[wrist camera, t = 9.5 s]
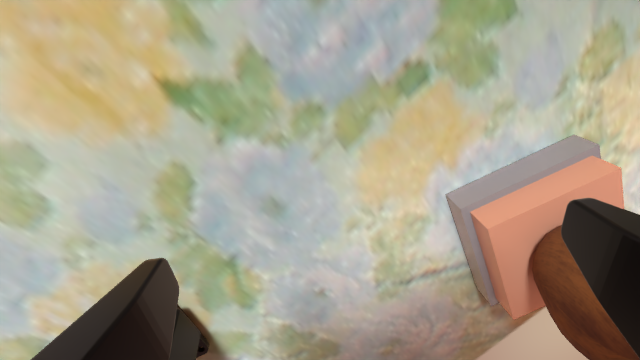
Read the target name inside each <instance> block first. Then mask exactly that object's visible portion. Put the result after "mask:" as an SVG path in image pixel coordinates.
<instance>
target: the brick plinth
mask: <svg viewBox="0 0 640 360" xmlns="http://www.w3.org/2000/svg"><path fill="white" fill-rule="evenodd" d="M446 197H447V200H448V203H449V206H450V209H451V212H452V215H453V218H454V221H455V224H456V227H457V230H458V233H459V236H460V239H461V242H462V245H463V248H464V251H465V254H466V257H467V260H468V263H469V266H470V269H471V272H472V275H473V278H474V281H475V284H476V287H477V289H478V290H479V291H480V292H481V294H482V295H483V296H484V298H485V299H486V300H487V301H488V303H489V304H490V305H491V306H493V305H495V304H498V303H500V304H501V305H502V306H503V307H504V309H505V310H506V311H507V312H508V314H509V315H510V316H511V317H512V318H513V320H515V319H517V318H519V317H521V316H524V315H526V314H528V313H530V312H533V311H535V310H537V309H540V308H542V307H544V306H546V305H545V303H544V301H543V299H542V297H541V295H540V292H539V290H538V288H537V286H536V283H535V281H534V278H533V272H532V266H533V259H534V255H535V252H536V250H537V248H538V246H539V244H540V242H541V241H542V240H543V238H544V237H545V236H546V235H547V234H548V233H549V232H550V231H552V230H553V229H555V228H557V227H558V226H560V225H562V223H563V219H564V215H565V211H566V208H567V205H568V203H569V202H570V201H572V200H575V199H582V198H594V199H597V200H600V201H602V202H605V203H608V204H611V205H613V206H616V207H619V208H622V209H624V200H623V187H622V173H621V168H620V167H618V166H615V165H613V164H611V163H609V162H606V161H604V160H602V159H601V156H600V146H599V144H596V143H594V142H591V141H589V140H586V139H584V138H581V137H579V136H576V135H572V136H570V137H568V138H566V139H563V140H561V141H559V142H557V143H555V144H553V145H551V146H548V147H546V148H544V149H542V150H540V151H538V152H536V153H533V154H531V155H529V156H527V157H525V158H523V159H521V160H518V161H516V162H514V163H512V164H510V165H508V166H505V167H503V168H501V169H499V170H497V171H495V172H493V173H490V174H488V175H486V176H484V177H482V178H480V179H478V180H475V181H473V182H471V183H469V184H467V185H465V186H463V187H460V188H458V189H456V190H454V191H452V192H450V193H448V194H446Z"/></svg>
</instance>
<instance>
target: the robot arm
mask: <svg viewBox="0 0 640 360" xmlns="http://www.w3.org/2000/svg"><path fill="white" fill-rule="evenodd" d="M561 236H562V239H563V241H564V243H565V245H566V246H567V248H568V250H569V252H570V253H571V255H572V257H573V259H574V260H575V262H576V264H577V266H578V267H579V269H580V271H581V273H582V274H583V276H584V278H585V280H586V281H587V283H588V285H589V286H590V288H591V290H592V292H593V293H594V295H595V296H596V298H597V300H598V301H599V303H600V304H601V306H602V307H603V309H604V310H605V311H606V313H607V314H608V316H609V317H610V318H611V320H612V321H613V323H614V324H615V325H616V327H617V328H618V330H619V331H620V332H621V334H622V335H623V337H624V338H625V339H626V341H627V342H628V343H629V345H630V346H631V348H632V349H633V350H634V352H635V353H636V355H637V356H638V357H639V359H640V215H638V214H635V213H633V212H630V211H627V210H624V209H622V208H619V207H616V206H613V205H611V204H608V203H605V202H602V201H600V200H597V199H594V198H582V199H575V200H572V201H570V202H569V203H568V205H567V208H566V211H565V215H564V219H563V223H562V226H561ZM178 296H179V285H178V282H177V280H176V278H175V276H174V274H173V271H172V269H171V267H170V265H169V263H168V261H167V260H166V259H164V258H156V259H149V260H146V261H144V262H143V263H142V264H140V265H139V266H138V267H137V268H136V269H135V270H134V271H132V272H131V273H130V274H129V275H128V276H127V277H126V278H124V279H123V280H122V281H121V282H120V283H119V284H117V285H116V286H115V287H114V288H113V289H112V290H111V291H109V292H108V293H107V294H106V295H105V296H104V297H102V298H101V299H100V300H99V301H98V302H97V303H96V304H94V305H93V306H92V307H91V308H90V309H89V310H88V311H86V312H85V313H84V314H83V315H82V316H81V317H79V318H78V319H77V320H76V321H75V322H74V323H73V324H71V325H70V326H69V327H68V328H67V329H66V330H64V331H63V332H62V333H61V334H60V335H59V336H58V337H56V338H55V339H54V340H53V341H52V342H51V343H49V344H48V345H47V346H46V347H45V348H44V349H43V350H41V351H40V352H39V353H38V354H37V355H36V356H35V357H33V358H32V359H31V360H196V358H197V357H199V356H201V355H203V354H205V353H207V352H208V349H209V343H208V341H207V340H206V339H205V338H204V337H203V336H202V335H201V332H200V331H199V330H198V328H197V327H196V326H195V325H194V324H193V323H192V322H191V320H190V319H189V318H188V317H187V316H186V315H185V313H184V312H183V311H182V310H181V309H179V308H178V307H177V303H178ZM201 347H202V348H201Z"/></svg>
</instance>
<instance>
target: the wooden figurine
mask: <svg viewBox="0 0 640 360" xmlns="http://www.w3.org/2000/svg"><path fill="white" fill-rule="evenodd" d="M561 226H562V225H560V226H558V227H557V228H555V229H553V230H552V231H550V232H549V233H548V234H547V235H546V236H545V237H544V238H543V240H542V241H541V242H540V244H539V246H538V248H537V250H536V252H535V255H534V259H533V266H532V272H533V278H534V281H535V283H536V286H537V288H538V290H539V292H540V295H541V297H542V299H543V301H544V303H545V305H546V307H547V309H548V311H549V313H550V315H551V317H552V318H553V320H554V322H555V323H556V325H557V327H558V328H559V330H560V332H561V333H562V334H563V335H564V336H565V337H566V339H567V340H568V341H569V342H570V343H571V344H572V345H573V346H574V347H575V348H576V349H577V350H578V351H579V352H581V353H582V354H583V355H584V356H585V357H586V358H588V359H589V360H640V359H639V357H638V356H637V355H636V353H635V352H634V350H633V349H632V348H631V346H630V345H629V343H628V342H627V341H626V339H625V338H624V337H623V335H622V334H621V332H620V331H619V330H618V328H617V327H616V325H615V324H614V323H613V321H612V320H611V318H610V317H609V316H608V314H607V313H606V311H605V310H604V309H603V307H602V306H601V304H600V303H599V301H598V300H597V298H596V296H595V295H594V293H593V292H592V290H591V288H590V286H589V285H588V283H587V281H586V280H585V278H584V276H583V274H582V273H581V271H580V269H579V267H578V266H577V264H576V262H575V260H574V259H573V257H572V255H571V253H570V252H569V250H568V248H567V246H566V245H565V243H564V241H563V239H562V236H561Z"/></svg>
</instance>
